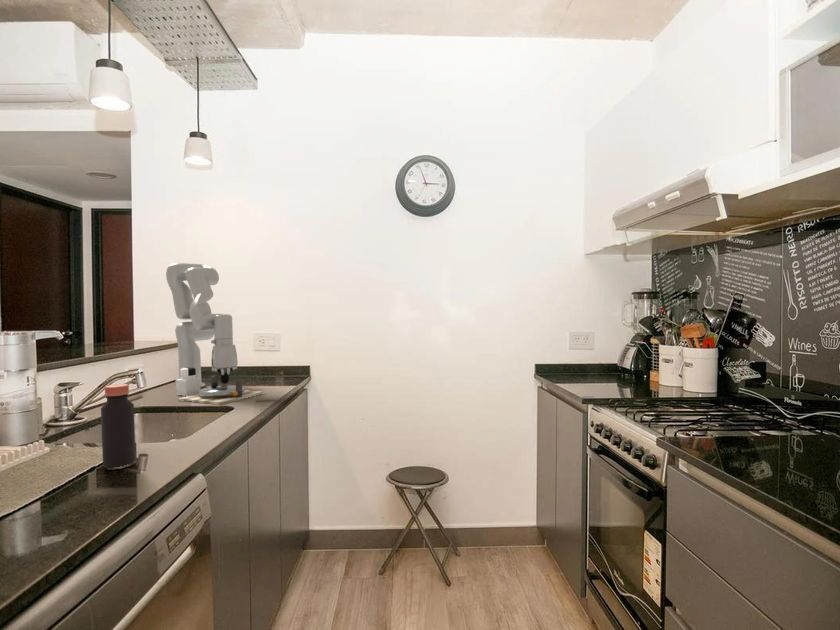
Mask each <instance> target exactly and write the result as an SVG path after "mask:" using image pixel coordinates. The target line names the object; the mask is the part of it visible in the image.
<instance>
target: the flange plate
mask: <svg viewBox="0 0 840 630" xmlns="http://www.w3.org/2000/svg"><path fill="white" fill-rule="evenodd" d="M210 381H211V382H210V385H211V386H209V387H204V388H201V390H199V395H200V396H204V397H219V396H229V395H231V396H236V395H238V392H237V391H236V384H235V385H234V384H233V385H232V384H229V385H228V384H226V385H225V384H223V385H219V380H218V375H211V376H210ZM244 390H245V386H243V385H242V392H244Z"/></svg>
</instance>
